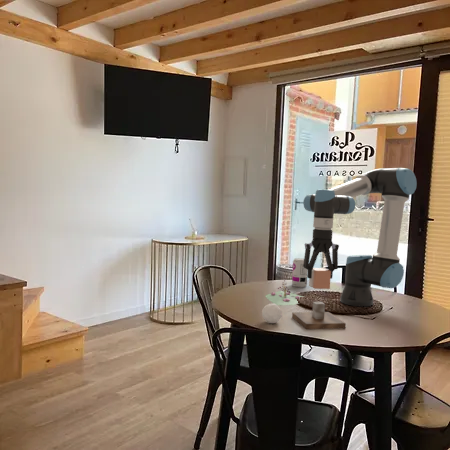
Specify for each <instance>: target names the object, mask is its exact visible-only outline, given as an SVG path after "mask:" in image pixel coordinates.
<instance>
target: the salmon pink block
mask: <svg viewBox="0 0 450 450" xmlns="http://www.w3.org/2000/svg"><path fill="white" fill-rule="evenodd" d="M312 270H313V271H314V283H313V287H312V288H313V289H314V290H315V289H316V290H318V289H319V290H321V289H322V290H324V289H325V290H327V289H329V290H330V289H331V279H330V278H331V271H330V270H329V269H328V268H326V267H313V269H312Z"/></svg>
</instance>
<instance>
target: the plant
mask: <svg viewBox="0 0 450 450" xmlns="http://www.w3.org/2000/svg"><path fill="white" fill-rule="evenodd" d="M284 282H286V280H283V282H282V284H281V285H282V287H283V288H282V287H281V286H279V287H278V288H277V289H278V291H275V292H270V293H268V294H266V295H265V298H266V299H267V300H268V301H269V302H271V304H274V303H275V304H276V305H278V306H296V305H298V304H299V303H298V301H297V299H300V297H304V296H303V295H299V294H297V293H296V294H295V293H293V292H291V291H289V290H290V288H287V286H286V285H287V283H284Z"/></svg>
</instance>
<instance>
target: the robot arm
mask: <svg viewBox="0 0 450 450" xmlns="http://www.w3.org/2000/svg"><path fill="white" fill-rule="evenodd" d="M417 184H418V183H417V178H416V175H415V172H413V171H412V170H411V169H410V168H407V167H406V168H405V167H392V168H390V167H389V168H376V169H373V170H369V171H367V172H365V173H361V174H359V175H356V177H355V179H353V180H349V181H347V182H345V183H342V184H340V185H336V186H335V187H332V188H330V189H316V191H315V194H314V193H311V194H310V193H309V194H306V196H305V197H304V199H303V208H304V210H306V211H307V212H312V213H313V221H312V222H313V223H312V224H313V225H312V227H313V229H312V240H311V242H309V243H306V242H305V243H304V247H305V248H304V249H305V250H304V257H303V259H304V264H303V267H304V268H306V269H307V270H308V271H307V279H308V281H309V282H308V286H309V287H310V288H313V283H314V271H313V270H312V269H313V268H315V264H316V262H317V259H318V256H319V255H320V253H323V255H324V257H325V261H326V266H327V269H328V270H330V271H331V278H330V280H332V279H333V273H334V272H335V270H338V268H339V267H338V266H339V264H338V262H339V261H338V260H339V259H338V258H339V257H338V256H339V255H338V252H339V247H340V244H337V243H334V242H333V241H332V240H333V227H334V216H335V215H336V214H337V215H348V214H352V213H353V212H354V211H355V209H356V200H355V199H354V198H356V197H358V196H360V195H362V196H366V195H368V194H381V198H382V199H383V200H384V201H383V208H382V215H381V222H380V229H379V236H378V241H377V242H378V243H377V248H376V252H375V253H374V254H373V255H370V254H357V255H349V256H347V257H346V262H345V276H344V277H345V278H344V279H345V280H344V287H343V289H342V291H341V295H340V298H339V299H340V303H342V304H343V305H347V306H352V307H363V306H364V307H372V306H373V305H374V297H373V294H372V291H371V285H372V286H377V287H382V288H385V289H394V288H397V287H398V285H399V284H401V282H402V280H403V277H404V273H405V272H404V271H405V269H404V266H403V265H402V264H401V262H400V258H399V256H398V249H399V243H400V236H401V231H402V230H401V229H402V221H403V215H404V208H405V203H407V201H409V199H410V195H413V194H414V193H415V191H416V189H417ZM334 214H335V215H334ZM312 247H313V251H312V254H311V249H312ZM330 249H332V250H331V252H330ZM331 253H332V254H331ZM331 255H332V257H331ZM371 305H372V306H371Z"/></svg>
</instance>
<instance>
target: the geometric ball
mask: <svg viewBox="0 0 450 450" xmlns="http://www.w3.org/2000/svg"><path fill="white" fill-rule="evenodd" d="M282 313H283V311H282V309H281V308H280V305H276V304H275V303H268V304H266V305H264V307H263V308H262V310H261V317H262V318H263V320H264V321H265V322H267V323H268V324H276V323H278V322H279V321H280V320H281V319H282V316H283V315H282Z"/></svg>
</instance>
